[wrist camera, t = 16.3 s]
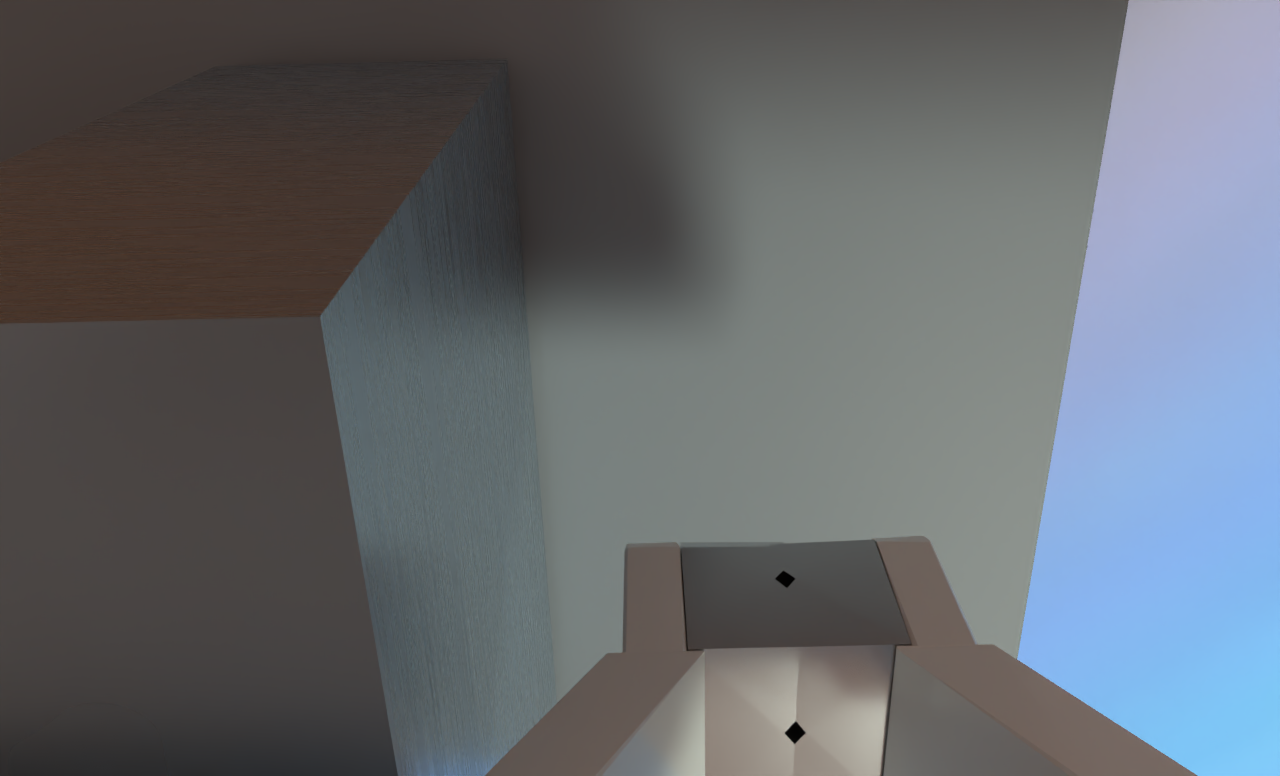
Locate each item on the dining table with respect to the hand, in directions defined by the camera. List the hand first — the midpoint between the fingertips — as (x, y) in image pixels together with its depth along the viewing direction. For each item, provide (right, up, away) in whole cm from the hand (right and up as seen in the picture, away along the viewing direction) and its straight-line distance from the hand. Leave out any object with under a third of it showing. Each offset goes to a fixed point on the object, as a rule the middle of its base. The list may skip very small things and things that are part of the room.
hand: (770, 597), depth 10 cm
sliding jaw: (-4, +1, +3) cm, 5 cm away
